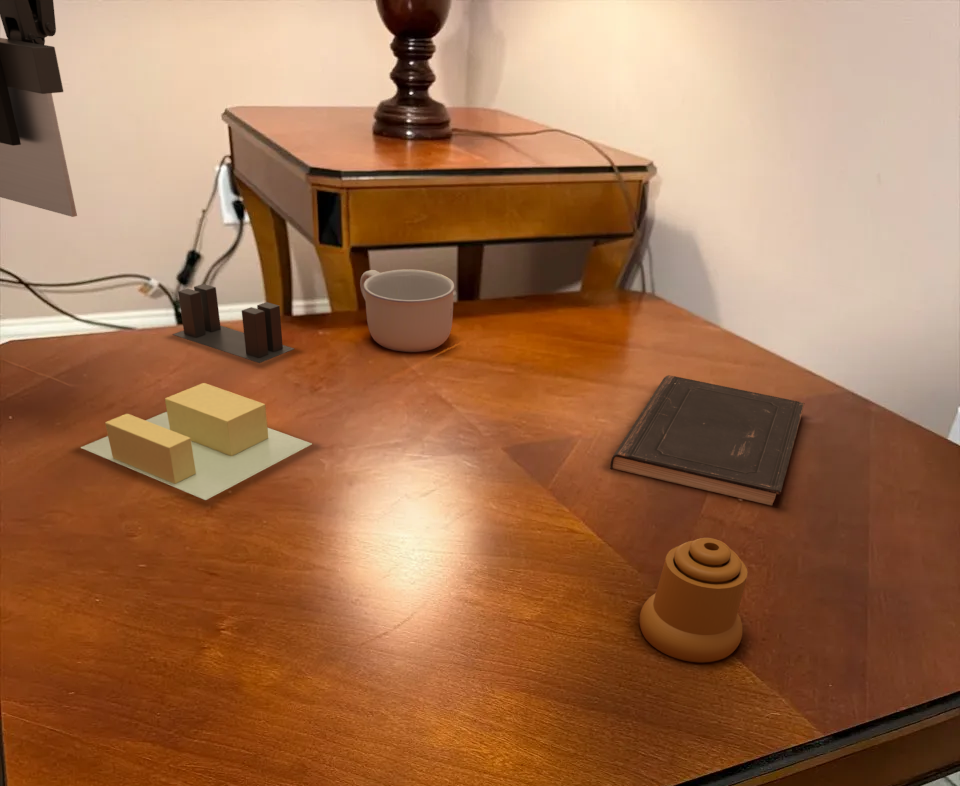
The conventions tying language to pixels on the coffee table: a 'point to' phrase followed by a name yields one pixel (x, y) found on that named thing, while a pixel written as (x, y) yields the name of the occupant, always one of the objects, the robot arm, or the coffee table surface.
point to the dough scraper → (34, 130)
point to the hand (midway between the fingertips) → (20, 140)
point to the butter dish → (217, 461)
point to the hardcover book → (713, 439)
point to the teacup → (408, 308)
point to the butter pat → (151, 448)
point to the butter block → (217, 418)
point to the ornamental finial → (696, 603)
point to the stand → (205, 328)
